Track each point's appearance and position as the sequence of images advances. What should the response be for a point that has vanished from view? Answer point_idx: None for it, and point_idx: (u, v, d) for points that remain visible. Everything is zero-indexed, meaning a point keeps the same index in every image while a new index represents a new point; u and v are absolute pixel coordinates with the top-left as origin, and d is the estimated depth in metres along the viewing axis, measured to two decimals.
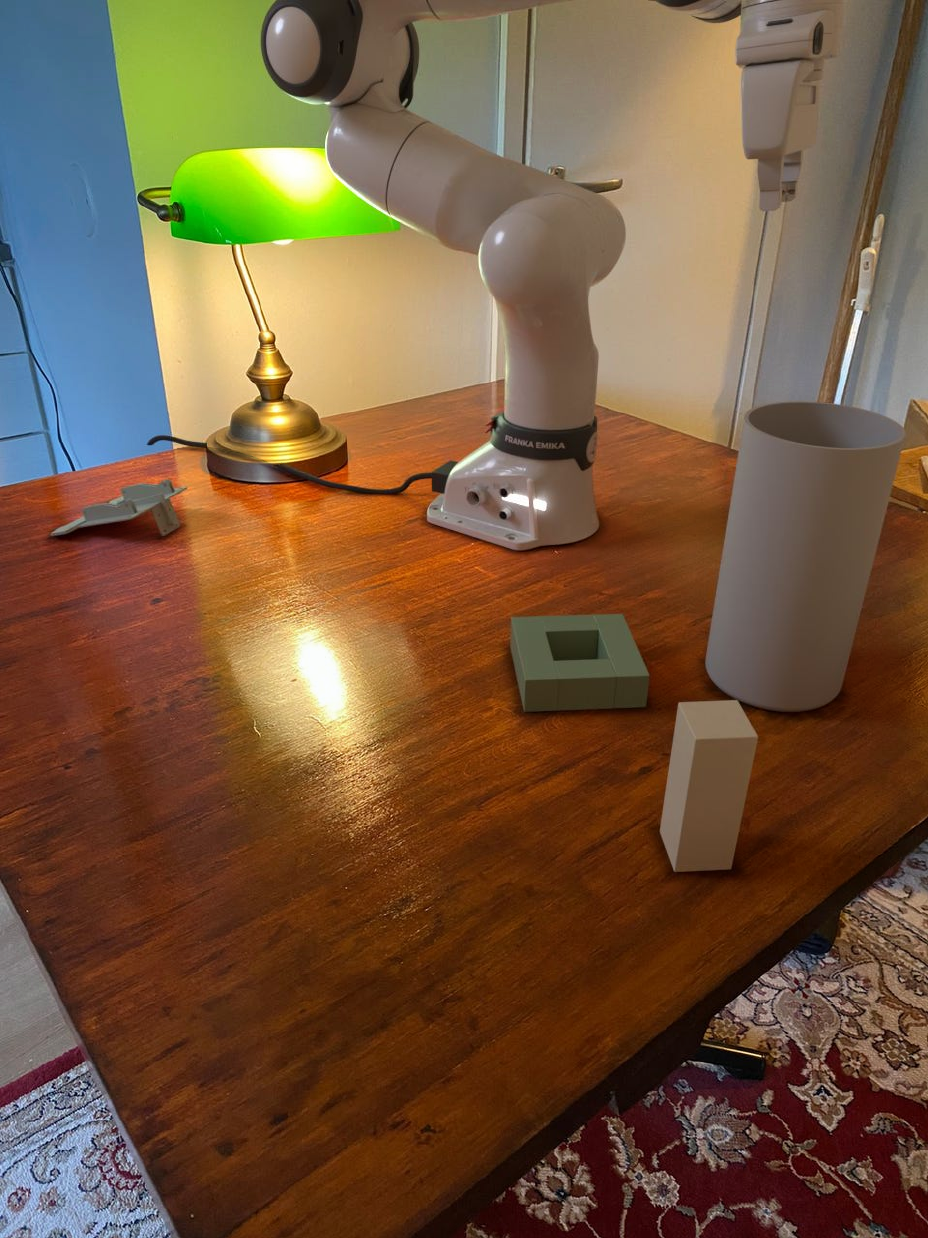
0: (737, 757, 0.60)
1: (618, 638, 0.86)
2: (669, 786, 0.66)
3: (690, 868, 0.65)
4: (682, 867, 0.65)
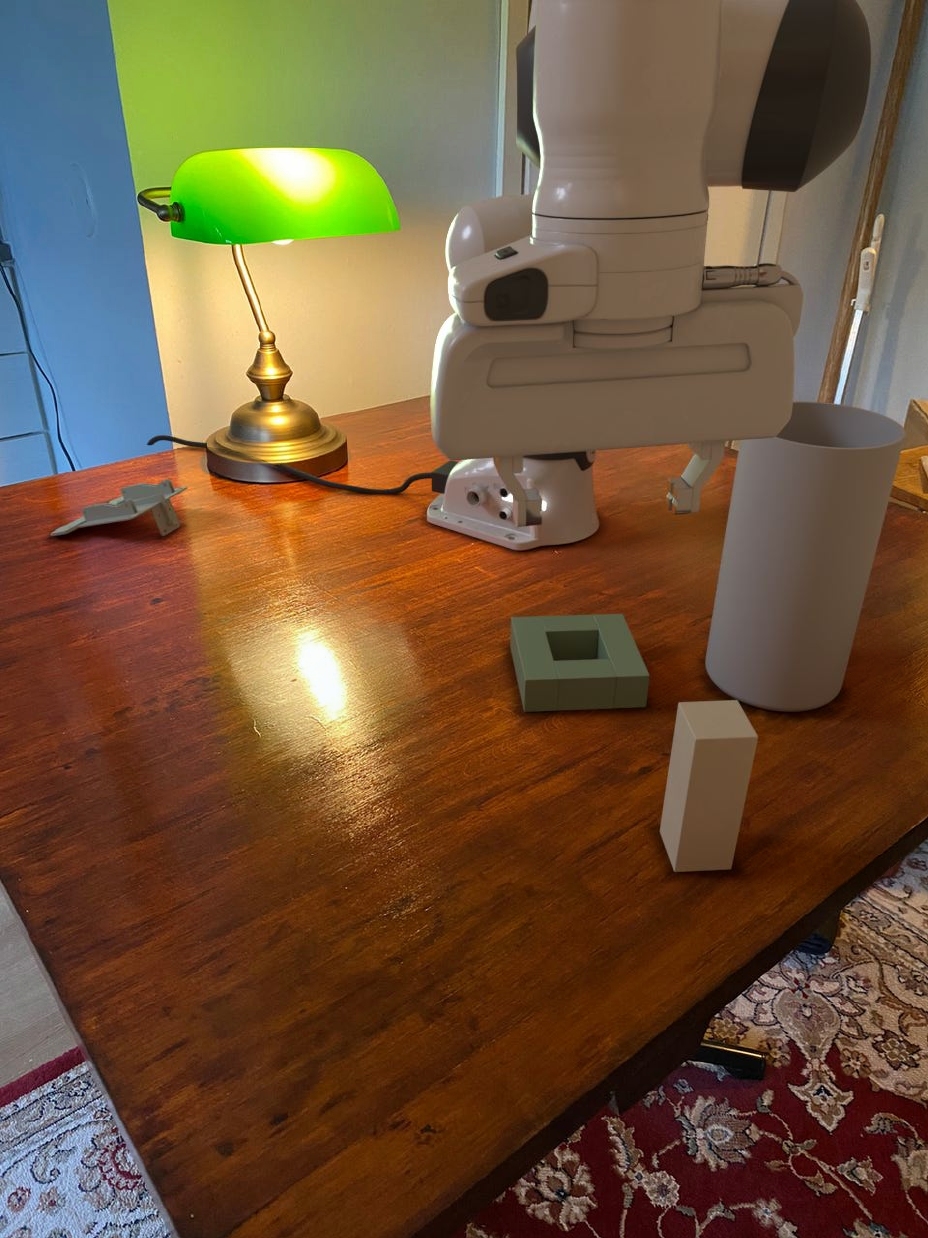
0: (737, 757, 0.60)
1: (618, 638, 0.86)
2: (669, 786, 0.66)
3: (690, 868, 0.65)
4: (682, 867, 0.65)
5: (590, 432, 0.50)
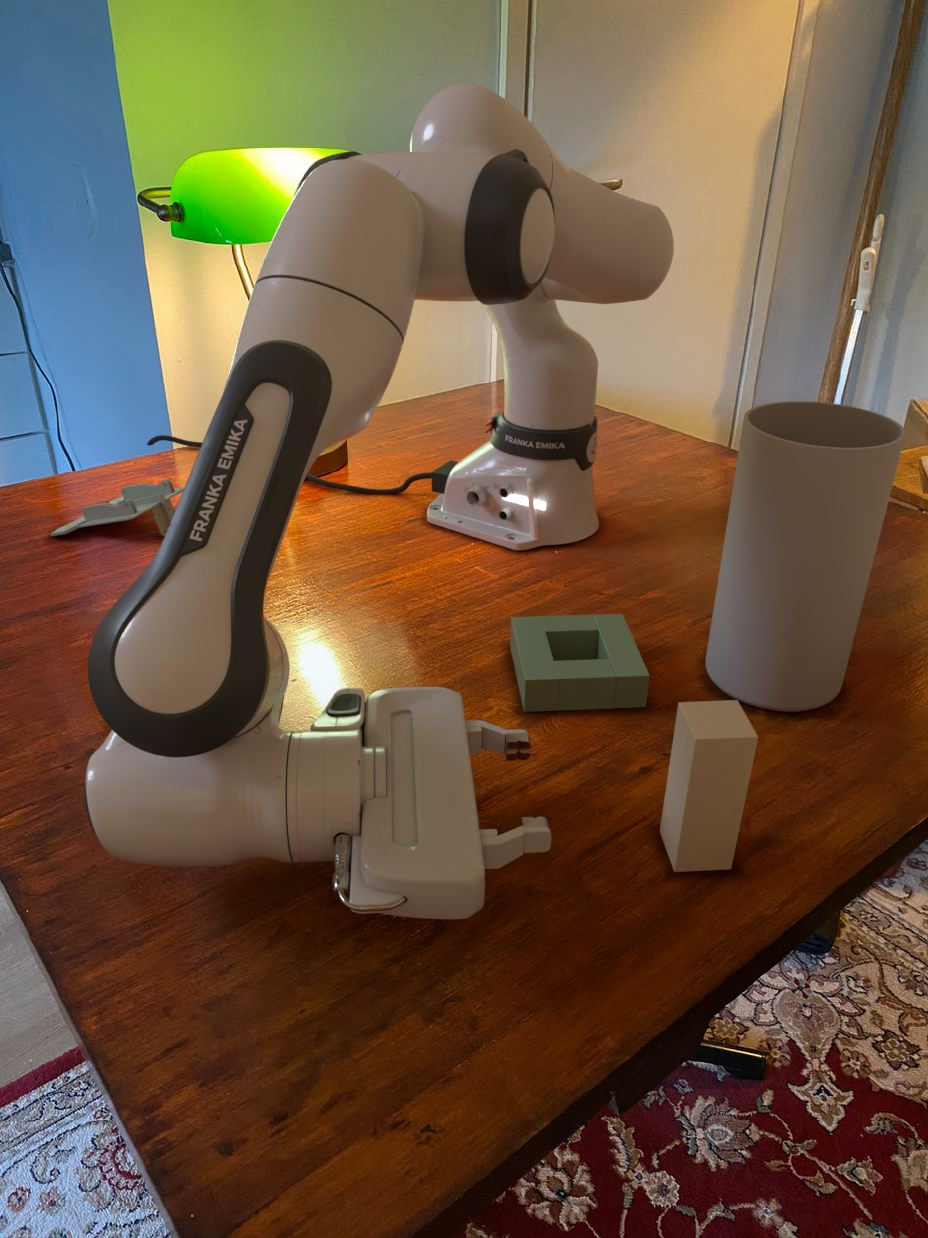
0: (737, 757, 0.60)
1: (618, 638, 0.86)
2: (669, 786, 0.66)
3: (690, 868, 0.65)
4: (682, 867, 0.65)
5: None
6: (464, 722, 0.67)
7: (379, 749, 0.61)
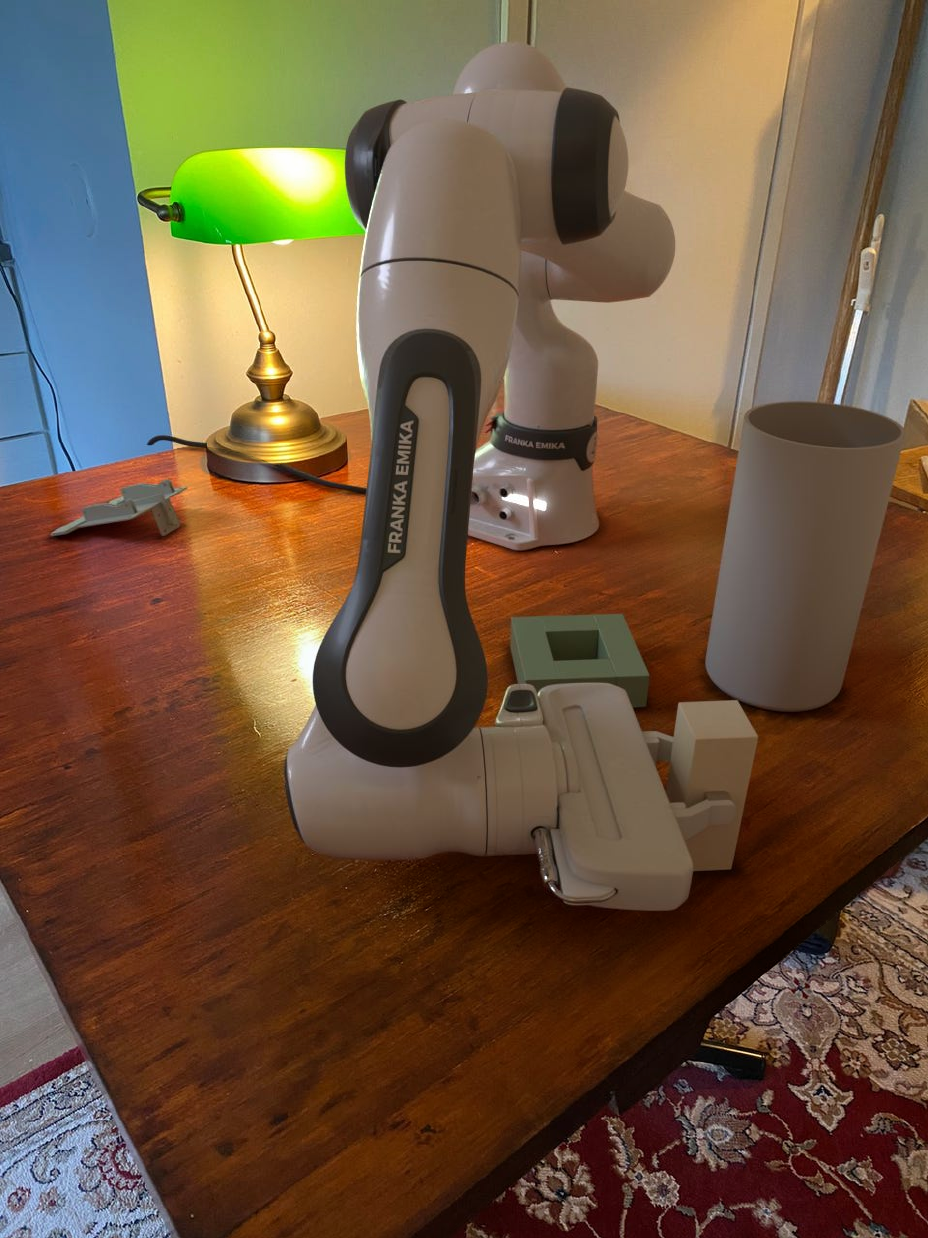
0: (737, 757, 0.60)
1: (618, 638, 0.86)
2: (669, 786, 0.66)
3: None
4: None
5: None
6: (635, 717, 0.68)
7: (565, 745, 0.62)
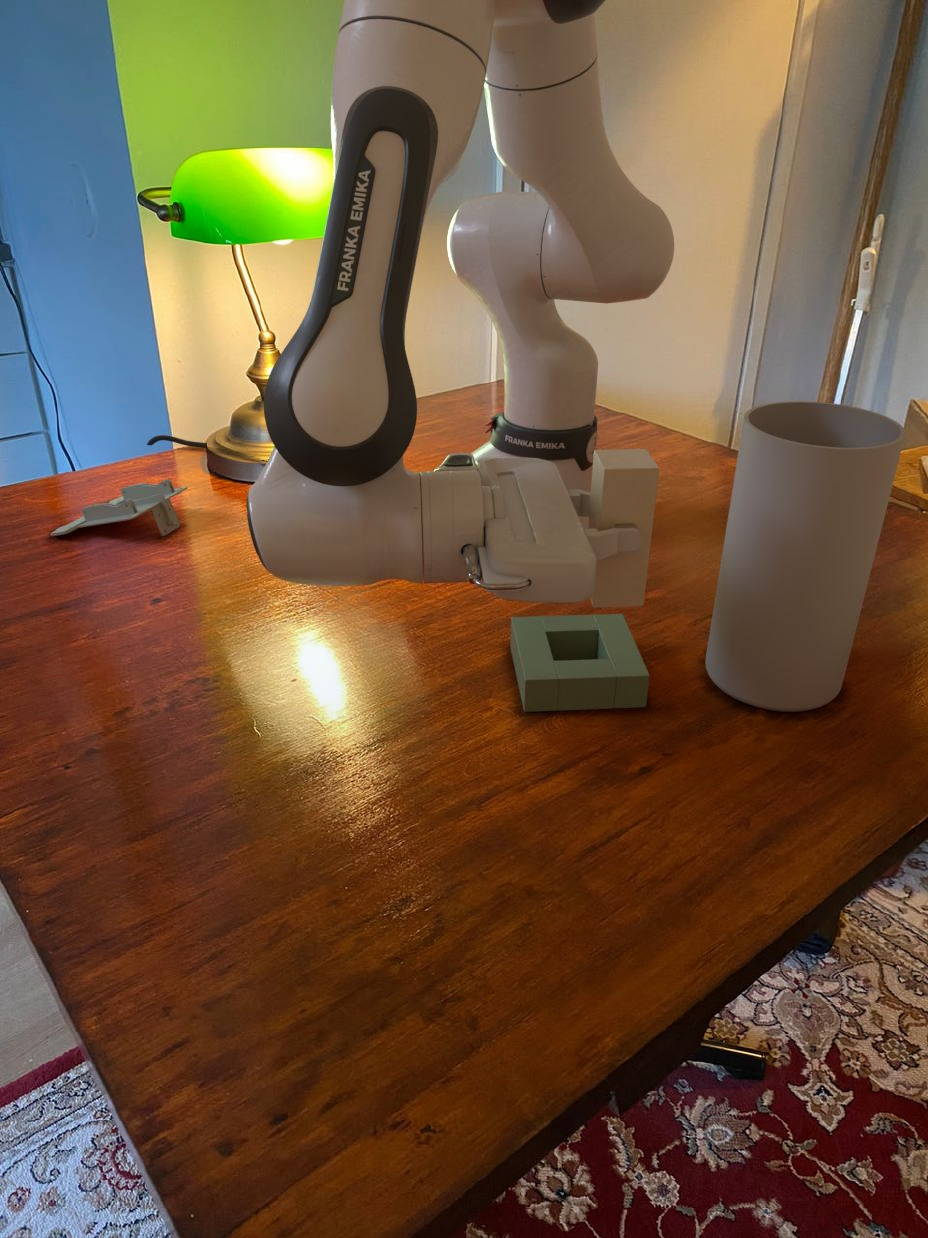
0: (641, 488, 0.69)
1: (618, 638, 0.86)
2: None
3: (607, 604, 0.74)
4: (599, 603, 0.74)
5: None
6: (561, 478, 0.76)
7: (494, 485, 0.71)
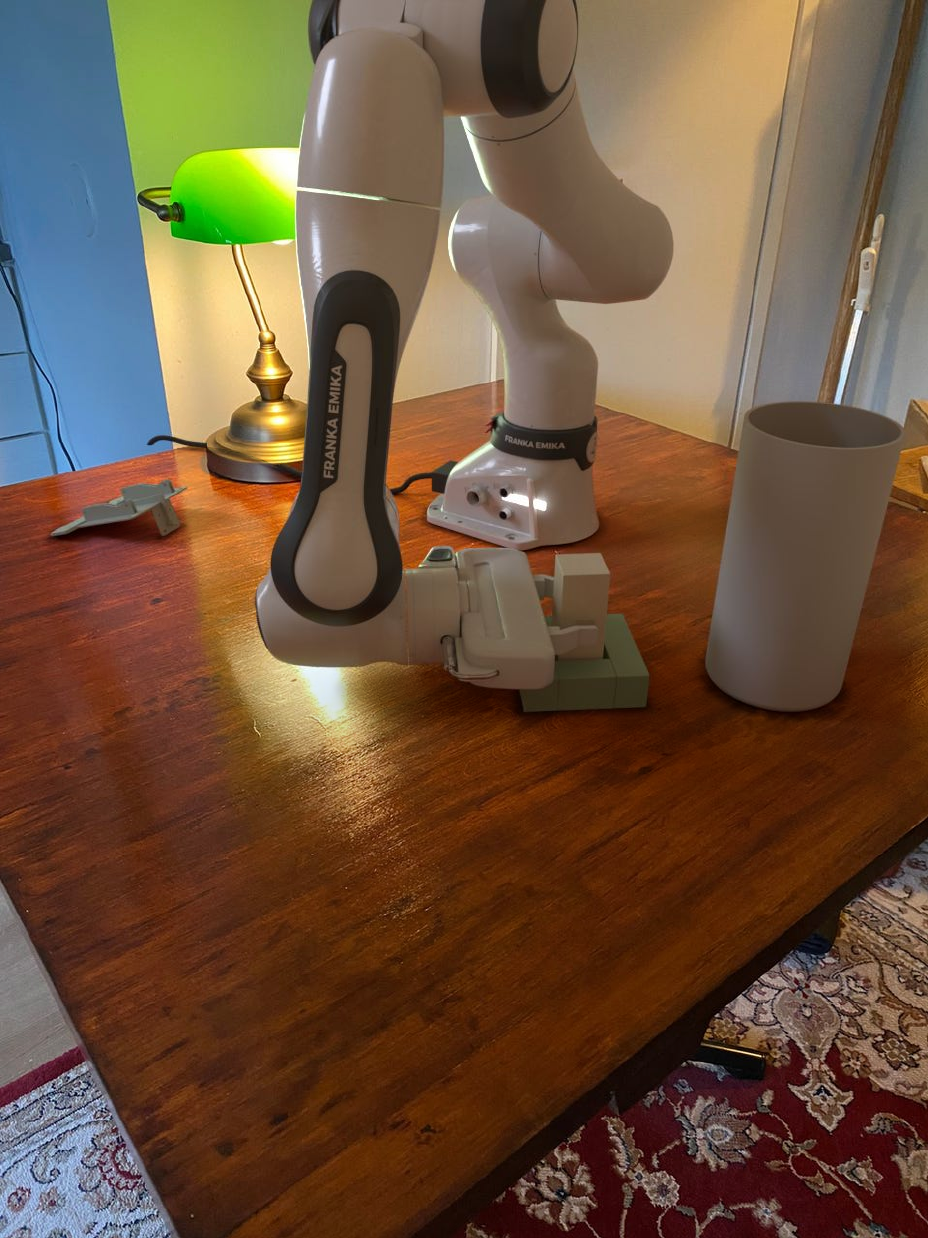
0: (595, 590, 0.80)
1: (618, 638, 0.86)
2: (552, 623, 0.86)
3: None
4: None
5: None
6: (530, 569, 0.87)
7: (470, 581, 0.82)
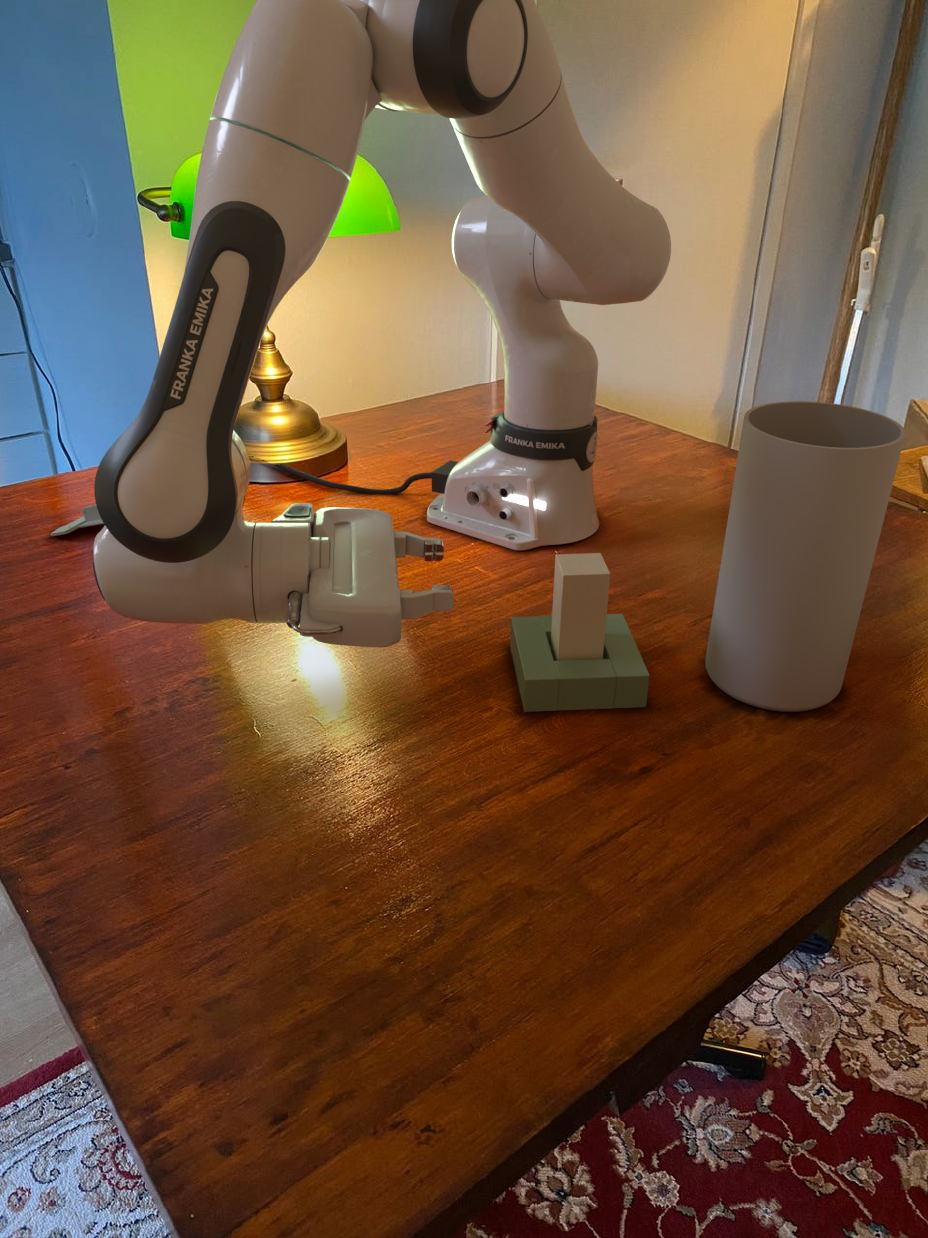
0: (595, 590, 0.80)
1: (618, 638, 0.86)
2: (552, 623, 0.86)
3: None
4: None
5: None
6: (392, 530, 0.85)
7: (324, 537, 0.79)
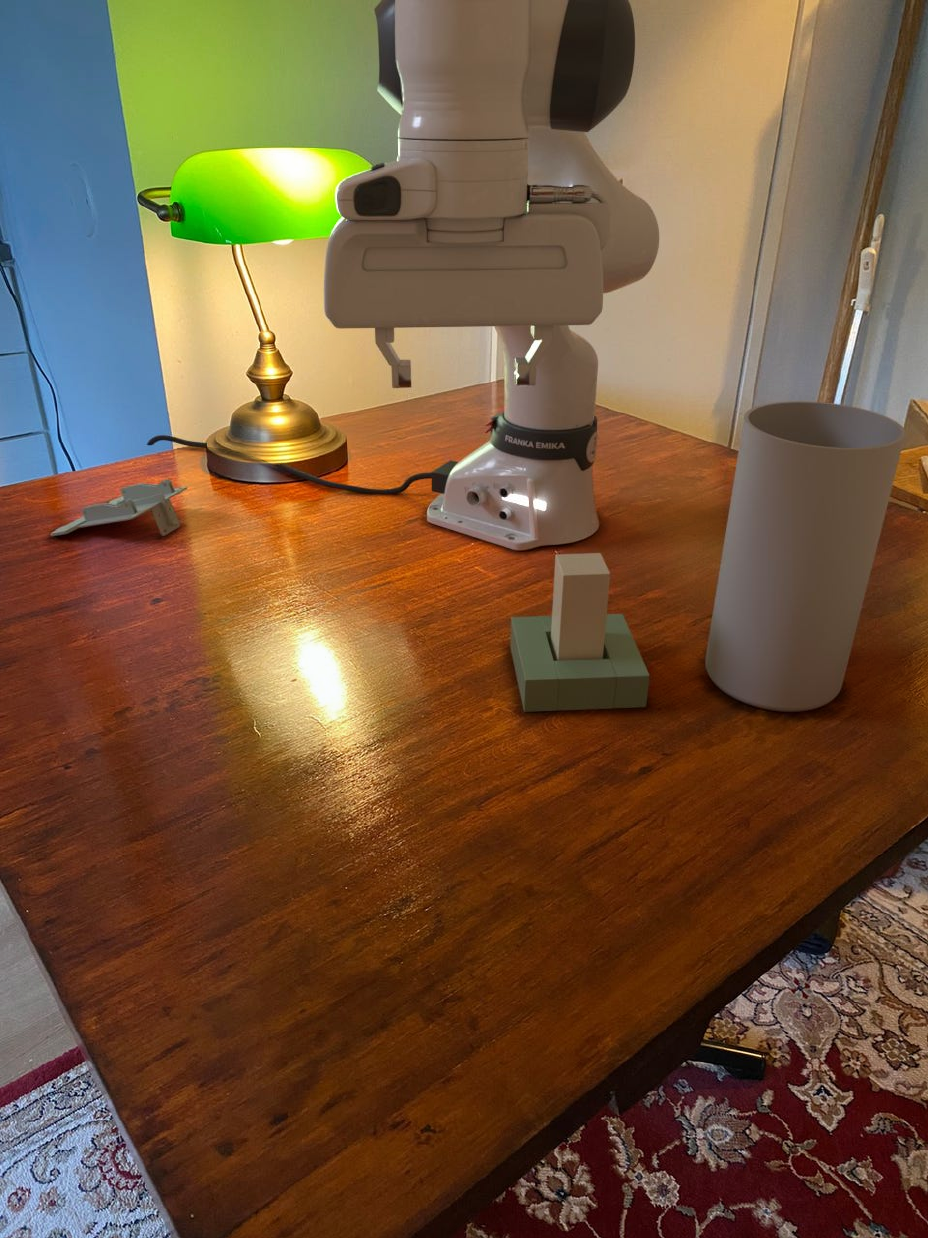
0: (595, 590, 0.80)
1: (618, 638, 0.86)
2: (552, 623, 0.86)
3: None
4: None
5: (443, 311, 0.65)
6: None
7: None
